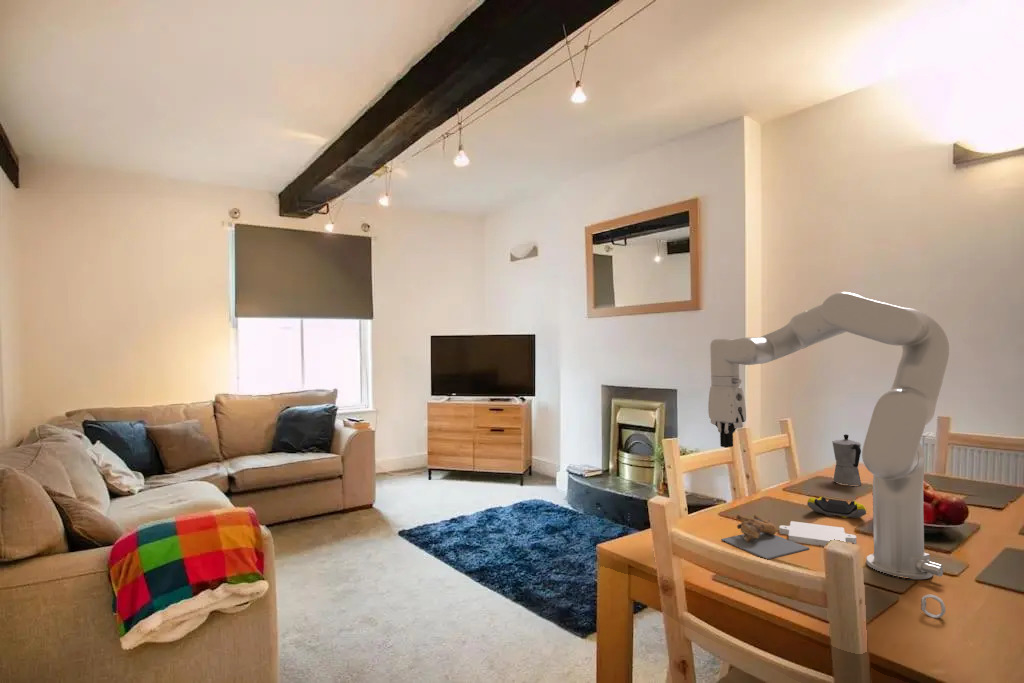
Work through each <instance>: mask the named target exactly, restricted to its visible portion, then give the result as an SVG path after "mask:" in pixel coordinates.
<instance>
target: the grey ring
mask: <svg viewBox="0 0 1024 683" xmlns="http://www.w3.org/2000/svg"><path fill="white" fill-rule="evenodd" d="M927 598H928V599H929V598H931V599H932V600H935V601H937V602H938V603H939V604H940V609H941V612H940V613H939V614H933V613H931V612H929V611H927ZM920 603H921V604H920V607H921V608H920V609H921V611H922V612H923V613H924V614H925V615H927V616H928V617H929V618H933V619H940V618H942V617H943V616H944V615H945V613H946V605H945V603H944V600H943V599H942V598H940V597H939V596H937V595H935V594H931V593H930V594H925V595H924V596H922V597H921V600H920Z"/></svg>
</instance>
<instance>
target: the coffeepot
mask: <svg viewBox="0 0 1024 683" xmlns="http://www.w3.org/2000/svg"><path fill="white" fill-rule="evenodd" d="M849 436H850V435H849V434H846V433H845V434H843V438H844V439H843V438H842V439H835V440H832V442H831V443H832V447H833V452H834V458H835V468H834V474H833V479H832V480H834V482H838V483H842V484H848V485H861V486H862V480H861V477H860V476H861V475H860V470H859V462H860V458H861V455H862V449H861V446H862V444H861V442H860V441H855V440H851V439H849ZM834 482H833V483H834Z"/></svg>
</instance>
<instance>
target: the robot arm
mask: <svg viewBox="0 0 1024 683" xmlns="http://www.w3.org/2000/svg"><path fill="white" fill-rule="evenodd" d="M844 333H850V334H854V335H857V336H859V337H863V338H866V339H869V340H873V341H876V342H879V343H883V344H886V345H889V346H901V348H902V353H901V358H900V360H899V363H898V366H897V368H896V373H895V377H894V380H893V384H892V387H891V389H890V390H888V391H887V392H885V393H884V394H883V395H881V396H880V397H879V399H878V400H877V402H876V403H875V406H874V408H873V411H872V414H871V418H870V422H869V426H868V428H867V432H866V435H865V439H864V442H863V447H862V449H861V458H862V463H863V465H864V467H865V469H867V471H869V472H870V473H871V474H872V521H873V523H872V524H873V528H872V529H873V553H872V554H868V555H867V556H866V557H865V563H866V565H867V566H868V567H870V568H871V569H872V568H873V569H872V570H874V569H875V570H874V571H876V570H877V571H876V572H878V571H880V572H879V573H881V572H883V573H882V574H884V573H887V574H891V575H896V576H903V577H908V578H913V579H912V580H927V579H930V578H932V577H934V576H937V577H942V576H943V575H944V566H943V564H940V563H937V562H933V561H932V560H931V558H930V557H931V556H930V553H927V552H925V529H924V528H925V525H924V522H925V521H924V476H925V460H926V459H925V452H924V448H923V445H921V440H922V438H923V434H924V430H925V428H926V426H927V425H928V424H929V423H930V422H931V421H932V419H933V418H934V415H935V411H936V407H937V403H938V398H939V396H940V392H941V389H942V385H943V382H944V376H945V373H946V370H947V366H948V361H949V356H950V344H949V340H948V336H947V334H946V332H945V330H944V328H943V327H942V326H941V325H940V324H939V323H938V322H937V321H936V320H935V319H934V318H932V317H930V316H929V315H928V314H926V313H924V312H923V311H920V310H918V309H915V308H910V307H903V306H902V307H901V306H898V305H894V304H890V303H887V302H882V301H878V300H874V299H870V298H867V297H864V296H862V295H860V294H857V293H853V292H848V291H841V292H835V293H833V294H831V295H830V296H828V297H827V298H826V299H825V300H824V301H823V303H821V304H819V305H817V306H814V307H812V308H810V309H807V310H806V311H803V312H801V313H798V314H796V315H794V316H792V318H790V321H789V322H788V323H787V324H786V325H784V326H782V327H780V328H779V329H777V330H774V331H771V332H770V333H767V334H765V335H762V336H757V337H756V336H755V337H754V336H751V337H742V338H741V337H740V338H717V339H713V340H711V342H710V348H709V350H710V384H711V385H710V387H709V392H708V403H707V404H708V407H707V408H708V411H707V412H708V418H709V419H710V423H711V424H712V425H713V426H716V428H717V432H718V433H719V434H720V435H719V443H720V444H719V445H720V447H722V448H724V449H725V448H732V447H734V434H735V431H736V430H737V429H741V428H742V429H743V427H744V425H743V423H745V422H747V421H746V420H747V409H746V400H745V395H744V390H743V386H742V387H741V386H740V384H742V379H741V378H740V365H742V366H743V365H745V366H751V365H752V366H754V365H762V364H767V363H770V362H773V361H776V360H778V359H781V358H784V357H785V356H789V355H791V354H794V353H796V352H798V351H800V350H803V349H806V348H808V347H811V346H812V345H815V344H818V343H822V342H823V341H825V340H829V339H830V338H834V337H836V336H839V335H842V334H844ZM887 574H886V575H887Z"/></svg>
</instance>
